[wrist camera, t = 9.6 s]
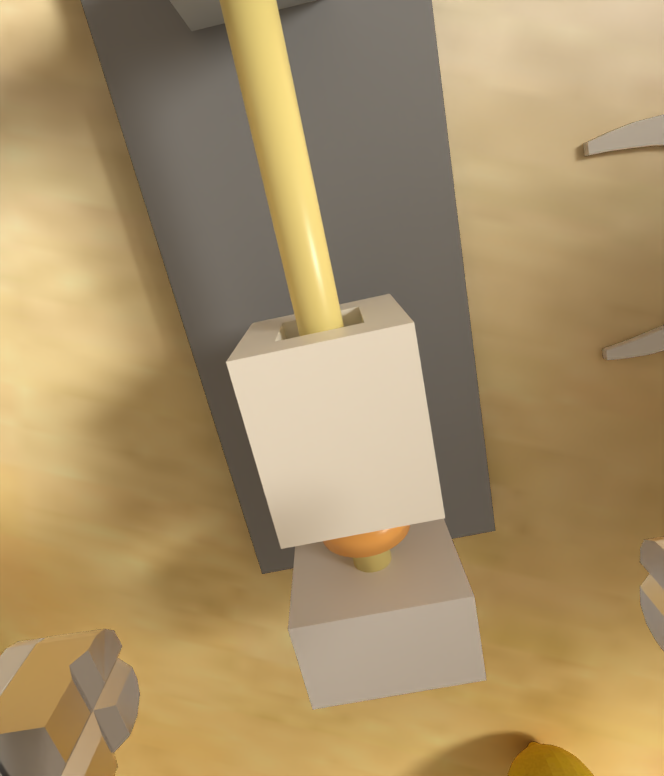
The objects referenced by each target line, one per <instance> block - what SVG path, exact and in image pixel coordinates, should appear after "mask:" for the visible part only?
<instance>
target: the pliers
mask: <svg viewBox="0 0 664 776" xmlns="http://www.w3.org/2000/svg"><path fill="white" fill-rule="evenodd" d="M583 145H584V155H585V156H587V155H592V154H597V153H603V152H608V151H615V150H623V149H630V148H639V147H647V146H664V115H660V116H656V117H652V118H648V119H644V120H640V121H636V122H633V123H630V124H627V125H625V126H622V127H620V128H617V129H615V130H612V131H610V132H607V133H605V134H603V135H601V136H599V137H596V138H594V139H592V140H590V141H588V142H586V143H584V144H583ZM660 351H664V325H663V326H660V327H658V328H656V329H653V330H651V331H648V332H646V333H643V334H641V335H638V336H636V337H633V338H631V339H628V340H626V341H623V342H620V343H617V344H614V345H611V346H608V347H605V348H603V349H602V352H603V358H604V359H606V360H614V359H624V358H632V357H638V356H644V355H650V354H653V353H657V352H660Z"/></svg>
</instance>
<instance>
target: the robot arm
mask: <svg viewBox="0 0 664 776" xmlns="http://www.w3.org/2000/svg"><path fill="white" fill-rule="evenodd" d="M640 563H641V564H642V565H643V566H644V568H645V569H646V570H647V571H648V572H649V573H650V574H649V575H648V577H647V578H646V579H645V580H644V582H643V583H642V584H641V586H640V603H641V608H642V611H643V614H644V617H645V620H646V624H647V626H648V628H649V630H650V631H651V633H652V635H653V637H654V639H655V640H656V642H657V643H658V645H659V646H660V647H661V649H662V650H663V651H664V536H662V537H656V538H650V539H644V541H643V543H642V545H641V547H640ZM121 648H122V644H121V643H120V641H119V639H118V637H117V635H116V633H115V631H114V630H109V629H99V630H92V631H85V632H78V633H71V634H63V635H56V636H49V637H46V638H40V639H33V640H25V641H18V642H16V643H14V644H13V645H11V646H9V647H8V648H6V649H5V651H4V652H3V653H2V655H1V656H0V776H115V773H116V770H117V768H118V765H117V761H116V757H115V753H114V752H115V751H116V750H117V749H118V748H119V747H120V745H121V744H122V743H123V742H124V741H125V740H126V739H127V738H128V737H129V736H130V734H131V731H132V729H133V726H134V723H135V720H136V718H137V714H138V705H139V696H140V693H139V686H138V680H137V677H136V675H135V673H134V670H133V668H132V667H131V666H130V665H128V664H126V663H125V662H123V661H122V660H120V659H119V658H118V656H119V654H120V651H121Z"/></svg>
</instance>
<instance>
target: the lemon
mask: <svg viewBox="0 0 664 776" xmlns="http://www.w3.org/2000/svg"><path fill="white" fill-rule="evenodd" d="M508 776H594V775H593V774H592V773H591V771H590V770H589V769H588V768H587V767H586V766H585V765H584V764H583V763H582V762H581V761H580V760H579V759H578V758H577V757H576V756H574V755H573V754H571V753H569V752H568V751H566V750H564V749H562V748H560V747H557V746H553V745H547V744H539V743H537V742H531V743H529V744H528V746H527V748H526V749H524V750H523V751H522V752H520V753H519V754H518V755H517V757H516V758H515V759H514V761H513V762H512V765H511V767H510V769H509V772H508Z"/></svg>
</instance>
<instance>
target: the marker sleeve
mask: <svg viewBox="0 0 664 776" xmlns="http://www.w3.org/2000/svg"><path fill="white" fill-rule="evenodd" d="M339 305H340V310H341V315H342V320H343V324H344V327H341V328H337V329H332V330H327V331H322V332H318V333H313V334H308V335H304V336H299V331H298V327H297V323H296V319H295V315H294V314H292V315H288V316H283V317H278V318H274V319H269V320H265V321H260V322H255V323H252V324H251V326H250V327H249V329H248V330H247V332H246V333H245V335H244V336H243V338H242V339H241V340H240V342H239V343H238V345H237V346H236V348H235V349H234V351H233V352H232V354H231V355H230V357H229V358H228V360H227V361H226V364H227V368H228V371H229V374H230V378H231V381H232V385H233V388H234V391H235V395H236V398H237V401H238V405H239V408H240V412H241V415H242V418H243V422H244V425H245V429H246V432H247V435H248V439H249V442H250V445H251V449H252V452H253V456H254V459H255V462H256V466H257V469H258V473H259V476H260V479H261V483H262V486H263V490H264V493H265V496H266V500H267V503H268V506H269V510H270V513H271V517H272V520H273V523H274V527H275V530H276V534H277V537H278V540H279V544H280V547H281V549H284V548H289V547H294V546H300V545H305V544H310V543H316V542H321V541H326V540H332V539H337V538H342V537H347V536H353V535H358V534H363V533H369V532H374V531H379V530H385V529H390V528H395V527H401V526H406V525H411V524H417V523H422V522H427V521H433V520H438V519H443V518H445V513H444V507H443V501H442V494H441V488H440V482H439V475H438V469H437V463H436V457H435V450H434V444H433V438H432V431H431V425H430V419H429V412H428V406H427V400H426V394H425V387H424V381H423V375H422V368H421V362H420V356H419V349H418V343H417V337H416V330H415V324H414V321H413V320H412V319H411V318H410V317H409V316H408V314H407V313H406V312H405V311H404V310H403V309H402V307H401V306H400V305H399V304H398V303H397V302H396V300H395V299H394V298H393V297H392V296H391V295H390V294H386V295H381V296H376V297H372V298H367V299H362V300H358V301H353V302H348V303H344V304H339Z"/></svg>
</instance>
